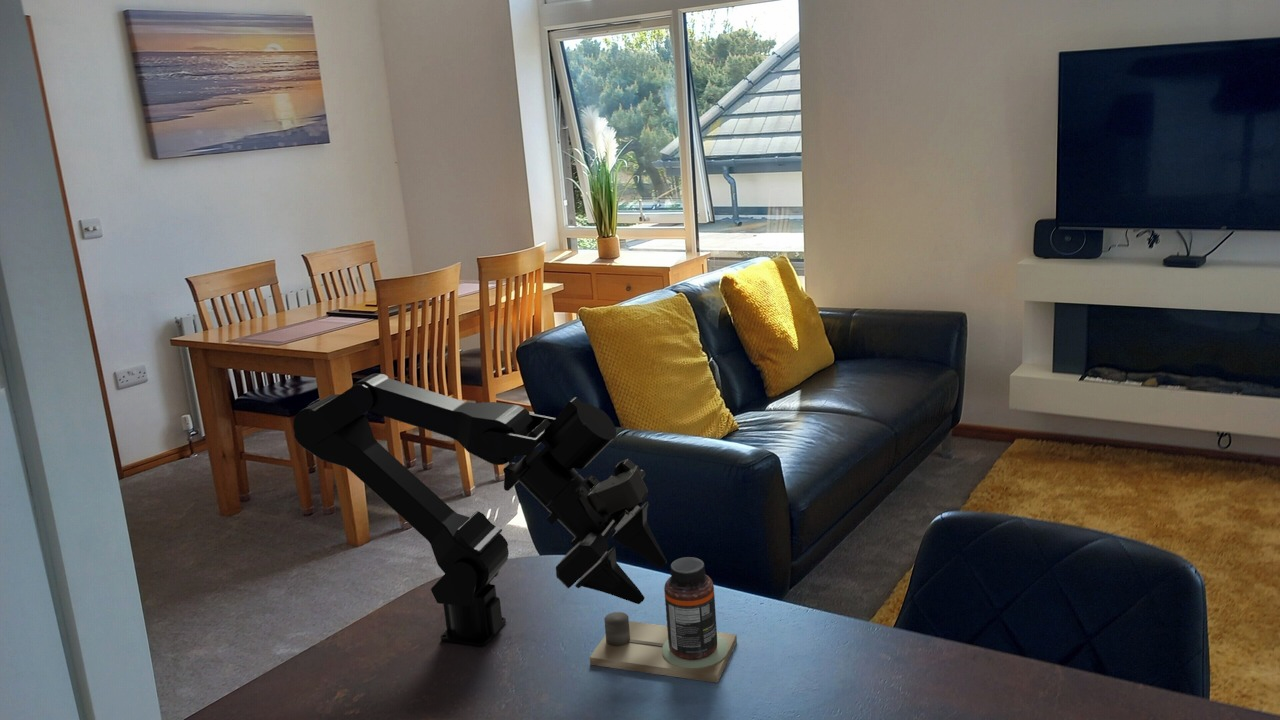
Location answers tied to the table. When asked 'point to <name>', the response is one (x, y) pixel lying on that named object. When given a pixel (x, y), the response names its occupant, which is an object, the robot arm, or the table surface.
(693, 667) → the pad
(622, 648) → the board
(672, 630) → the supplement bottle
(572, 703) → the table surface
